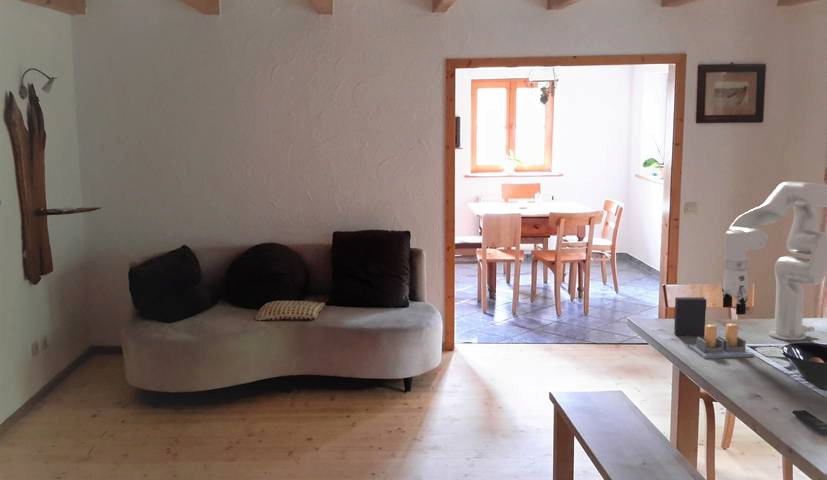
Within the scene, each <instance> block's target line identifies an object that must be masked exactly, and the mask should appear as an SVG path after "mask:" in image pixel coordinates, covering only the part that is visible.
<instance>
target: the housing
mask: <svg viewBox="0 0 827 480" xmlns="http://www.w3.org/2000/svg"><path fill="white" fill-rule="evenodd" d="M717 328H718V326H717V325H715V324H711V323H710V324H705V335H704V336H703V337H704V339H703V338H701V337H700V336H696V344H688V348H689V349H690V350H692V351H693V352H695V353H696V354H697V355H699V356H700V357H702V359H703V358H704V359H722V358H723V359H724V358H726V359H727V358H746V357H755V356H754V355H755V353H753V352H751V350H749V349H746V339H744V338H743V337H741V336H739V335H738V338H737V347H728V341H727V340H726V339H725V338H724V337H722V336H721V335H717V330H718V329H717Z"/></svg>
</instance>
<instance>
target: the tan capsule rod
mask: <svg viewBox="0 0 827 480" xmlns="http://www.w3.org/2000/svg"><path fill="white" fill-rule="evenodd" d="M738 333H739V325H738V324H736V323H726V324H725V338H724V339H726V340H727V341H728V347H737V338H738V336H739V334H738Z"/></svg>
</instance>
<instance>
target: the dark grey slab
mask: <svg viewBox="0 0 827 480" xmlns="http://www.w3.org/2000/svg"><path fill="white" fill-rule="evenodd" d="M674 301H675V302H674V304H675V305H674V326H673V327H674V330H673V333H674V335H675V336H677V337H678V336H679V337H683V336H684V337H687V336H691V337H700V336H701V337H702V336H703V337H705V325H706V310H707V299H706V298H705V297H700V296H699V297H697V296H696V297H695V296H694V297H693V296H692V297H689V296H687V297H683V296H682V297H681V296H679V297H677V296H676V297H675V299H674Z"/></svg>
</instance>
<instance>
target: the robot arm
mask: <svg viewBox="0 0 827 480" xmlns="http://www.w3.org/2000/svg"><path fill="white" fill-rule="evenodd" d="M815 207H819V208H827V184H825V183H816V182H809V181H808V182H805V181H783V182H781V183H780V184H778V185H777V186H776V188H775V189H773V191H772V192H771V193H770V195H769V196H768V197H767V198H766V200H765V201H764V202H763V203H762V204H761V205H760V206H757V207H754V208H753V209H750V210H748V211H746V212H744V213H743V214H741V215H739V216H738V217H736V219H735V220H734V221H733V222H732V223H731V224H730V226H729V227H728V229H727V230H726V231H725V233H724V241H723V242H724V246H723V247H724V248H723V249H724V250H723V251H724V253H723V269H724V271H723V280H722V282H721V291H722V307H723V308H725V309H726V308H732V307H733V298H735V299H736V302H737V303H736V304H735V314H736V315H746V311H747V309H746V306H747V302H748V299H749V298H748V297H749V277H748V271H747V270H748V269H747V267H748V262H747V261H748V250H752V251H753V250H756V251H757V250H760V249H763V248H764V247H765V246H767V244H768V243H769V242H768V241H769V237H768V236H769V235H768V234H767V232H766V231H765V230H762V229H760V228H757V227H760V226H765V225H770V224H774V223H778V222H780V221H781V220H782V219H783V218H784V217H785V216H786V215H787V214H788V213H789V211H790V210H791V208H792V209H793V214H794V216H793V221H792V225H791V227H790V231H789V234H788V237H787V241H786V249H787V250H788V251H789V252H790V253H792V254H795V255H796V254H797V255H802V256H808V257H810V258H806V257H805V258H804V257H799V256H794V255H793V256H792V255H785V256H781V257H779V258H778V259H776V260H775V263H774V275H775V282H776V285H775V286H776V290H775V291H776V292H775V306H774V307H775V310H774V327H773V329H770V330H769V335H770V337H773V338H776V339H778V340H783V341H793V342H795V341H802V340H805V339H806V338H807V335H806V333H807V332H811V333H812V332H815V327H814V326H808V325H803V317H804V316H803V315H804V300H805V291H804V287H803V286H802V284H805V285H810V286H817V285H820V284H822V282H823V281H824V279H825V277H826V274H827V233H826V232H824V231H817V230H818V227H819V222H820V217H819V214H818V212H817V210H816V208H815Z"/></svg>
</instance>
